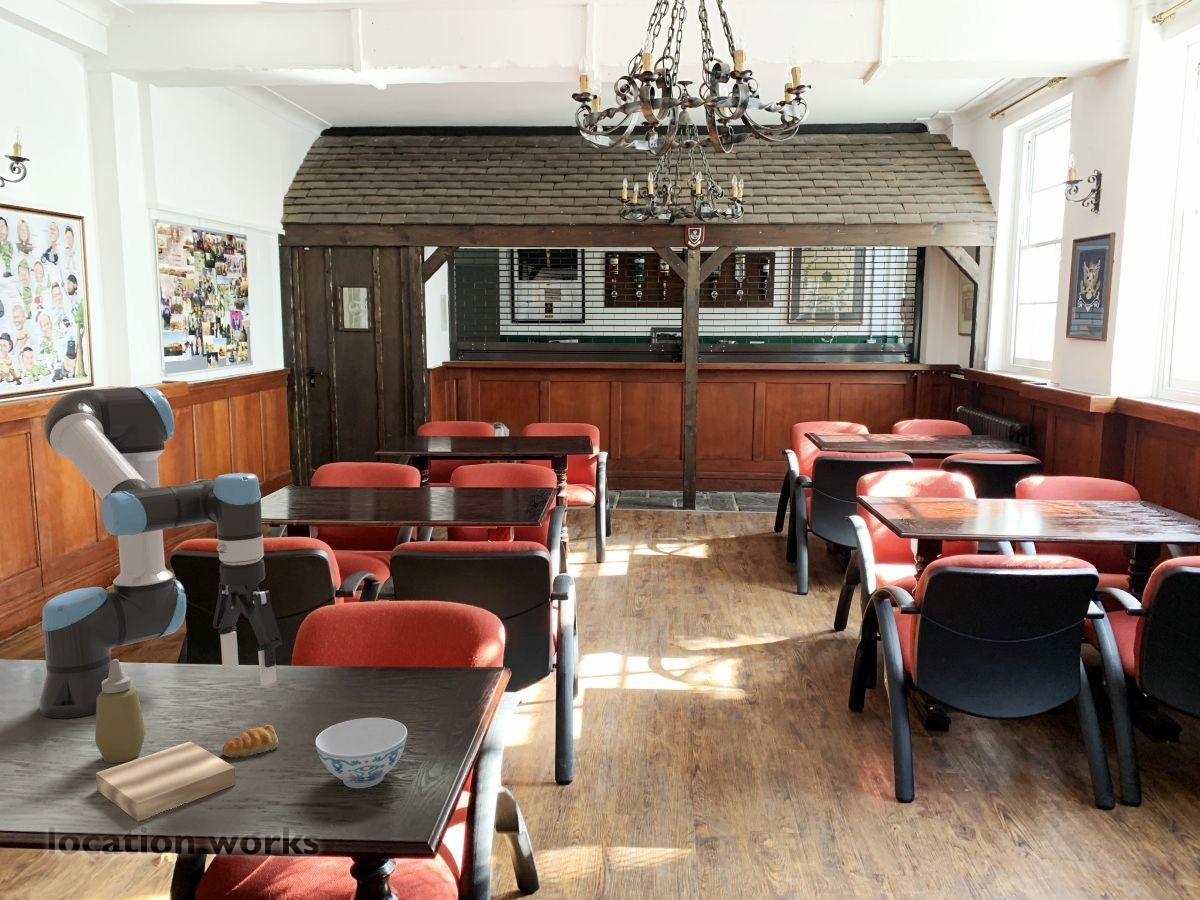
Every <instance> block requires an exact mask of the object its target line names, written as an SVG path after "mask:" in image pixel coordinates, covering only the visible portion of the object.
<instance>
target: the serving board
mask: <svg viewBox="0 0 1200 900" xmlns="http://www.w3.org/2000/svg"><path fill="white" fill-rule="evenodd" d="M95 778H96V790H97V791H98V792H99V793H100V794H101V795H102V796H104V797H105V798H107V799H108V800H110V802H112V803H113V804H115V805H116V806H117V807H118V808H120V809H121V810H123V812H125V813H126V814H128V815H129V816H130V817H131V818H133V819H134V820H136V821H137V822H141V821H144V820H146V819H149V818H152V817H154V816H156V815H155V814H157V815H159V814H158V813H160V812H162V813H164V812H163V811H165V810H168V811H170V810H172V808H173V809H175V808H178V807H180V805H181V806H183V805H185V804H184V803H186V804H188V803H191V802H193V801H196V800H198V799H201V798H203V797H206V796H209V795H211V794H215V793H217V792H219V791H222V790H225V789H228V788H230V787H232V786H235V785H236V784H237V779H236V778H237V777H236V767H235V766H233V765H232V764H231V763H228V762H227V761H225V760H224V759H222V758H220V757H218V756H217V755H215V754H213V753H212V752H210V751H208V750H206V749H204V748H203V747H201V746H199V744H196V743H194V742H192V741H191V740H190V741H187V742H184V743H181V744H178V745H176V746H173V747H170V748H166V749H163V750H160V751H157V752H154V753H151V754H149V755H145V756H143V757H140V758H137V759H132V760H129V761H128V762H127V761H126V762H125V763H124V762H123V763H122V764H119V765H116V766H112V767H110V768H106V769H103V770H100V771H98V772H95ZM182 804H183V805H182ZM177 806H178V807H177ZM169 809H170V810H169ZM165 812H166V811H165ZM160 814H161V813H160ZM153 815H154V816H153ZM151 816H152V817H151Z"/></svg>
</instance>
